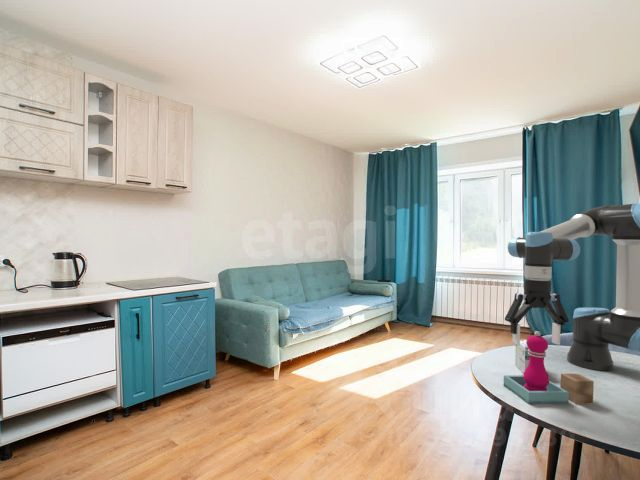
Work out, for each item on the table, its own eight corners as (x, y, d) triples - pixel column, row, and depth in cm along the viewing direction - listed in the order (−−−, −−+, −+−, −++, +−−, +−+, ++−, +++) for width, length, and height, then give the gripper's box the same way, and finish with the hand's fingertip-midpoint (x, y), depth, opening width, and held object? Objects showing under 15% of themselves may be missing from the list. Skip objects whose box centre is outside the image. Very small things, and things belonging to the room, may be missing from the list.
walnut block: (577, 394, 114) (578, 373, 114) (592, 403, 108) (593, 381, 108) (560, 394, 113) (560, 373, 113) (574, 403, 107) (575, 381, 107)
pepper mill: (519, 391, 113) (521, 330, 113) (526, 385, 118) (528, 327, 118) (545, 399, 108) (547, 335, 108) (551, 392, 113) (553, 331, 113)
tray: (539, 385, 120) (539, 375, 120) (568, 403, 107) (568, 392, 107) (503, 385, 120) (503, 375, 119) (528, 403, 107) (528, 392, 107)
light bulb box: (544, 377, 128) (545, 348, 128) (524, 375, 129) (525, 346, 129) (532, 366, 138) (533, 339, 138) (514, 365, 140) (514, 338, 139)
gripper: (507, 280, 108) (506, 347, 109) (583, 280, 110) (581, 347, 110) (494, 277, 116) (492, 340, 116) (565, 277, 117) (563, 340, 118)
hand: (536, 343), depth 113 cm, fingers open, 13 cm apart
